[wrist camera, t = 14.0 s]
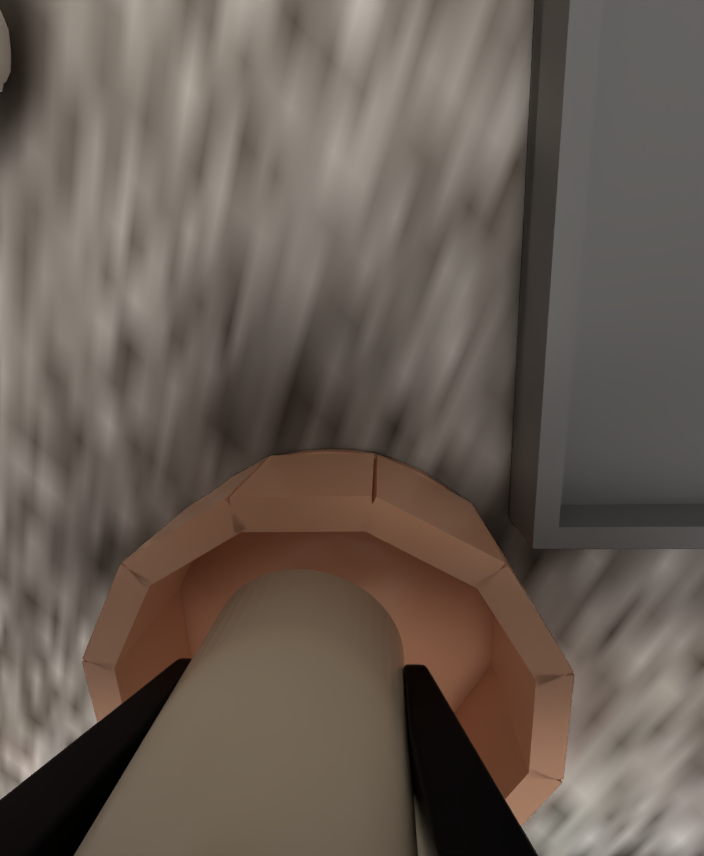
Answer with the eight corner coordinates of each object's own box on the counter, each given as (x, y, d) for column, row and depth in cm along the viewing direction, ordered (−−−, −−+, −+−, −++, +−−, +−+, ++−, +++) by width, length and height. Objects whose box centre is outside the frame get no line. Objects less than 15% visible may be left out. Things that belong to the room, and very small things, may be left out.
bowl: (522, 443, 11) (593, 492, 7) (504, 754, 13) (550, 903, 10) (144, 453, 12) (41, 499, 8) (195, 740, 14) (134, 870, 11)
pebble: (401, 569, 7) (436, 949, 3) (405, 734, 8) (436, 1227, 3) (200, 568, 7) (-68, 903, 3) (226, 726, 8) (48, 1165, 4)
